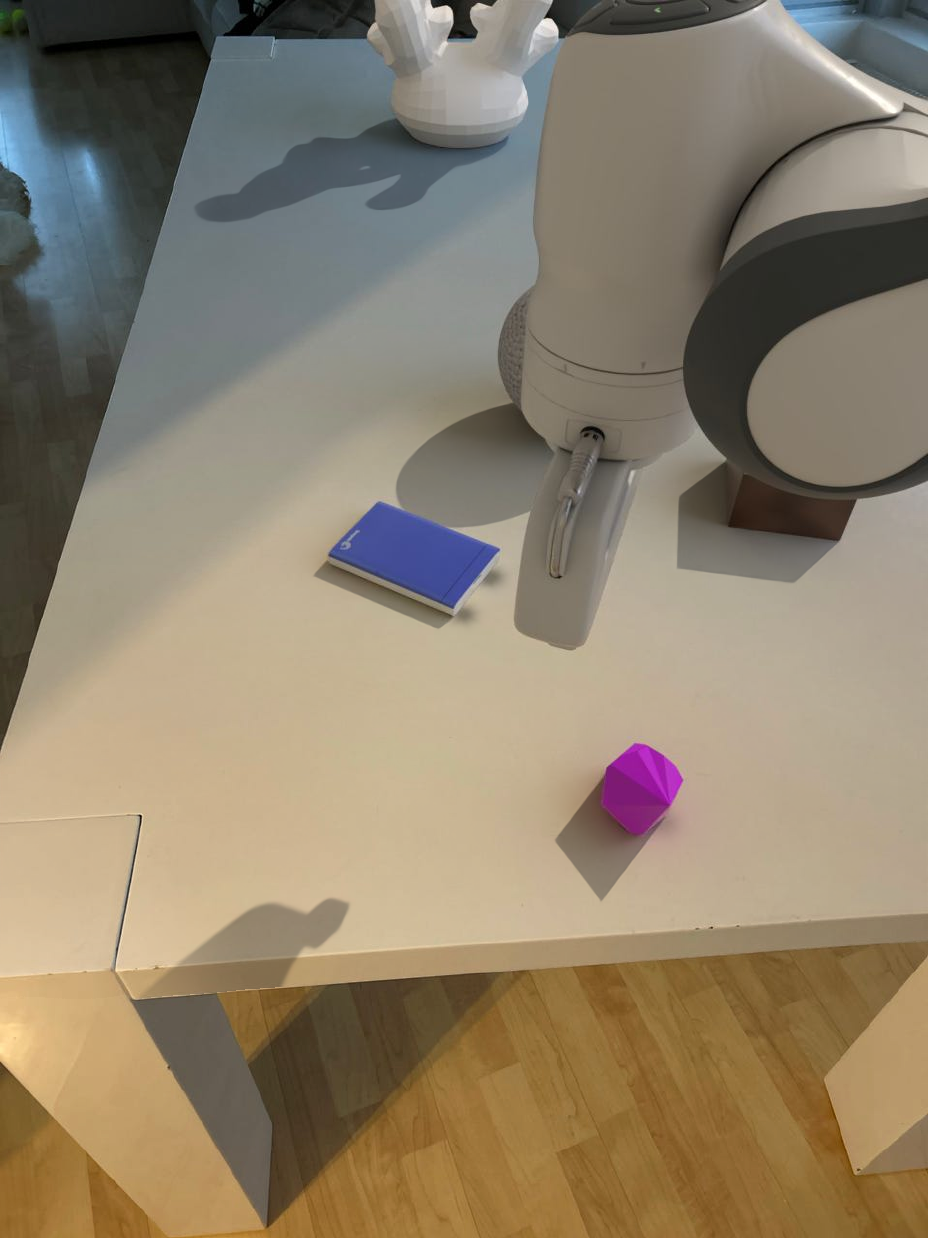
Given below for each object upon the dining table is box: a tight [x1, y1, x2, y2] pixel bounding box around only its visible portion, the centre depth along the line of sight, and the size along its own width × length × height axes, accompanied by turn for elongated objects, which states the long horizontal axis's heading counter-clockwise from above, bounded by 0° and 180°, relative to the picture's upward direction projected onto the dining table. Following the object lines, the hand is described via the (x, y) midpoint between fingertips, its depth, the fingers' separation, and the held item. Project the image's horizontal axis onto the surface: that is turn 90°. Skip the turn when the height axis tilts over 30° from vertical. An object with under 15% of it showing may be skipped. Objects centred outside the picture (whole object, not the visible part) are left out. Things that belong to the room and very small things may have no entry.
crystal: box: [600, 742, 684, 835], centre depth 64 cm, size 5×5×5 cm
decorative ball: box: [497, 284, 535, 412], centre depth 92 cm, size 15×15×15 cm
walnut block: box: [725, 457, 858, 541], centre depth 87 cm, size 10×10×6 cm
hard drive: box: [327, 500, 501, 617], centre depth 82 cm, size 2×8×12 cm
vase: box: [366, 0, 559, 149], centre depth 138 cm, size 29×22×35 cm
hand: (583, 582), depth 56 cm, fingers open, 8 cm apart
